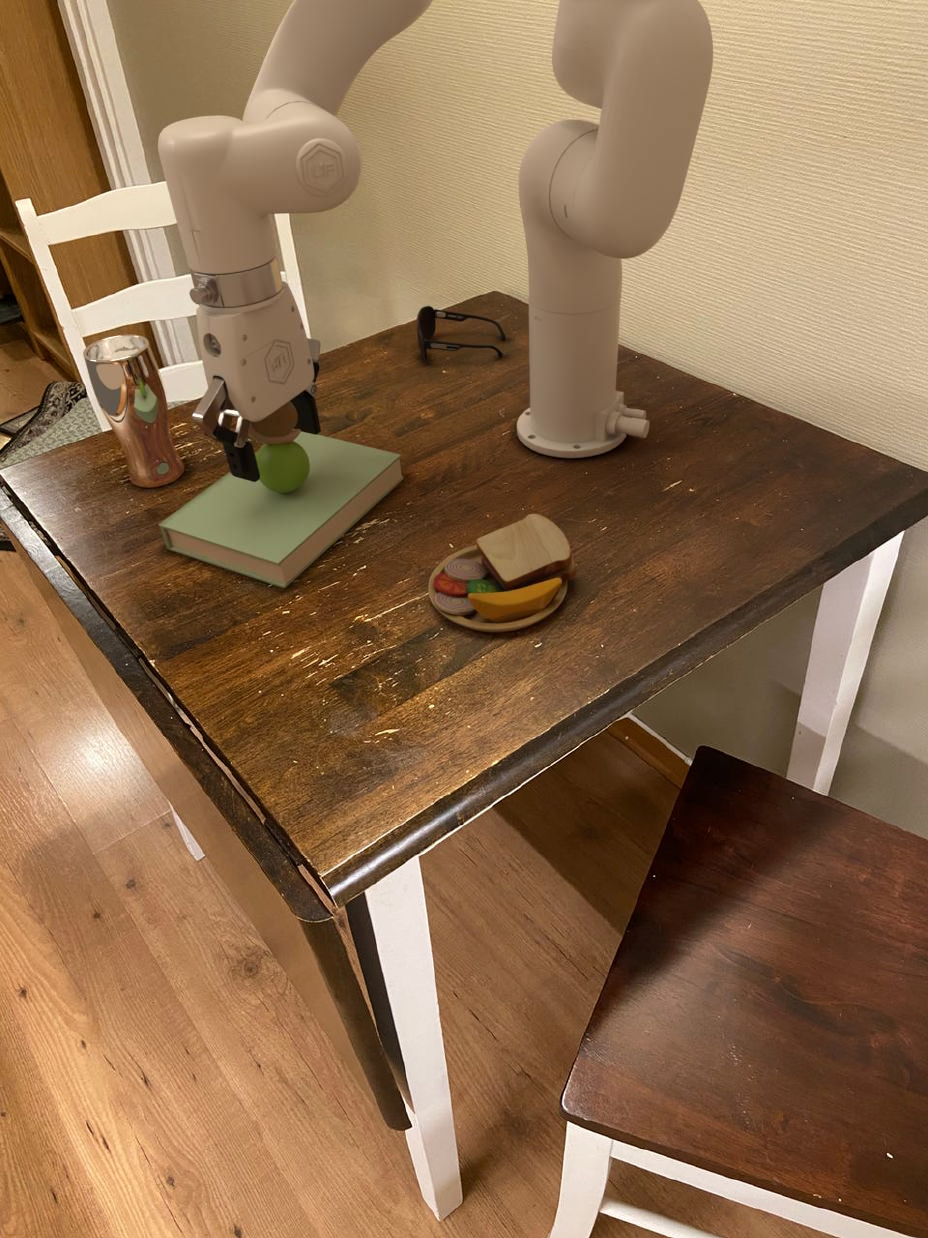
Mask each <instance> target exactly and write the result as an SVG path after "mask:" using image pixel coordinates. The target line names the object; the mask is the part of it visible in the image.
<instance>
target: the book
mask: <svg viewBox="0 0 928 1238" xmlns="http://www.w3.org/2000/svg"><path fill="white" fill-rule="evenodd" d="M293 430H294V429H293ZM293 441H295V442H296V443H298V444H299V445H300V446H301V447H302V448H303V449H304V450H305V452H306V453H307V455H308V458H309V462H310V471H309V475H308V477H307V479H306V481H305V483H304V484H303V485H302V486H301V487H300V488H298V489H297V490H295V491H292V492H289V493H278V492H274V491H271V490H269V489H268V488H266V487H265V486H264V485H263V484H262V483H261V482H260V480H258V481H256V482H252V481H249V480H245V479H241V478H238V477H234V476H233V475H232V474H231V471H229V472H228V473H227V474H225V475H224V476H222V477H221V478H220V479H218V480H217V481H216V482H214V483H213V484H211V485H210V486H209V487H207V488H206V489H205V490H203V491H202V492H201V493H199V494H197V496H194V498H193V499H191V500H190V501H188V502H187V503H185V504H184V505H183V506H181V507H180V508H179V509H178V510H176V511H175V512H174V513H172V514H171V515H169V516H168V517H166V519H164V520H162V521H161V522H160V523H158V527H159V529H160V531H161V535H162V538H163V541H164V544H165V547H166V549H167V550H169V551H171V552H175V553H177V554H181V555H183V556H186V557H190V558H193V559H195V560H198V561H202V562H204V563H207V564H210V565H213V566H217V567H219V568H222V569H225V570H228V571H231V572H234V573H236V574H240V575H243V576H246V577H249V578H252V579H254V580H258V581H261V582H263V583H267V584H269V585H272V586H276V587H278V588H281V589H286V588H287V587H288V586H289V585H290V584H291V583H293V582H294V580H296V579H297V578H298V577H299V576H300V575H301V574H303V573H304V571H305V570H306V569H307V568H309V567H310V566H311V565H312V564H313V563H314V562H315V561H317V559H318V558H319V557H321V556H322V555H323V554H324V553H325V552H326V551H327V550H328V549H329V548H331V546H332V545H334V544H335V543H336V542H337V541H338V540H339V539H340V538H341V537H342V536H344V535H345V533H346V532H348V531H349V530H350V529H351V528H352V527H353V526H354V525H356V523H358V522H359V521H360V520H361V519H362V518H363V517H364V516H365V515H366V514H367V513H368V512H370V511H371V509H373V508H374V507H375V506H376V505H377V504H379V502H380V501H381V500H383V498H384V497H386V496H387V495H388V494H390V492H391V491H392V490H394V488H395V487H397V486H398V485H399V484H400V483H401V482H402V481H403V480H404V478H405V477H404V476H403V474H402V467H401V458H402V454H401V453H396V452H391V451H387V450H383V449H380V448H375V447H371V446H366V445H362V444H359V443H354V442H350V441H346V440H343V439H342V440H341V439H339V438H338V439H337V438H334V437H329V436H325V435H321V434H317V435H314V434H310V433H306V432H300V434H299V435H298V436H297V438H296V439H295V440H293ZM257 452H258V451H256V452H254V453H255V457H256V454H257Z"/></svg>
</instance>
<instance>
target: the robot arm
mask: <svg viewBox="0 0 928 1238" xmlns="http://www.w3.org/2000/svg"><path fill="white" fill-rule="evenodd" d="M433 1H434V0H293V1H292V2H291V3H290V6H289V8H288V9H287V11H286V12H285V14H284V16H283V18H282V20H281V21H280V24H279V26H278V27H277V30H276V31H275V34H274V36H273V38H272V40H271V43H270V45H269V47H268V50H267V52H266V54H265V56H264V59H263V62H262V65H261V67H260V70H259V72H258V75H257V77H256V80H255V81H254V84H253V87H252V90H251V92H250V94H249V97H248V99H247V102H246V105H245V108H244V111H243V116H242V120H241V119H240V118H238V117H234V116H229V115H203V116H196V117H190V118H185V119H181V120H178V121H175V122H172V123H171V124H169V125H167V126H166V127H164V128H162V131H161V132H160V133H159V135H158V138H157V139H158V141H157V151H158V156H159V160H160V164H161V169H162V172H163V175H164V179H165V184H166V187H167V190H168V194H169V198H170V202H171V206H172V210H173V213H174V218H175V221H176V226H177V229H178V232H179V235H180V236H179V237H180V240H181V245H182V248H183V251H184V254H185V258H186V262H187V263H186V264H187V266H188V269H189V270H188V271H189V273H190V277H191V281H192V285H193V288H190V290H189V297H190V299H191V301H192V302H193V303H194V304H195V305H198V306H197V308H196V311H195V312H196V325H197V326H196V327H197V336H198V337H197V338H198V342H199V350H200V351H199V352H200V355H201V362H202V366H203V371H204V372H203V373H204V375H205V381H206V384H207V390H206V391H205V392H204V394H203V396H202V397H201V400H200V401H199V403H198V404H197V406H196V408H195V410H194V411H193V413H192V417H191V418H192V421H193V423H194V424H196V426H197V427H198V428H199V429H200V430H201V431H202V432H203V433H204V435H205V436H206V437H207V438H209V439H211V440H214V441H215V442H216V443H219V444H222V446H223V450H224V453H225V456H226V460H227V464H228V467H229V472H231V474H232V475H233V476H234V477H238V478H241V479H245V480H249V481H252V482H256V481H258V480H259V479H260V473H259V469H258V465H257V461H256V457H255V453H256V452H255V449H254V446H253V444H252V442H249V441H247V440H248V436H249V435H248V432H249V428H250V424H251V421H252V422H257V421H260V420H263V419H264V418H266V417H267V416H269V415H270V414H272V413H273V412H275V411H276V410H277V409H279V408H280V407H282V406H283V405H285V404H286V403H287V402H289V401H290V402H291V403H292V404H293V405H294V407H295V409H296V411H297V416H298V420H297V424H296V426H295V427H294V429H300V430H301V432H306V433H310V434H314V435H319V434H320V433H321V432H322V430H321V424H320V419H319V413H318V409H317V403H316V397H315V396H316V395H317V393H318V391H319V390H318V388H319V387H318V385H317V384H316V383H317V378H318V376H319V372H320V364H319V362H318V361H320V352H321V341H320V340H319V339H314V338H309V337H308V336H307V332H306V329H305V326H304V323H303V322H304V321H303V318H302V316H301V313H300V309H299V307H298V304H297V302H296V299H295V296H294V294H293V291H292V290H291V287H290V286H289V284H288V282H287V281H284V280H283V278H282V273H281V268H280V262H279V258H278V253H277V247H276V243H275V238H274V237H275V236H274V232H273V228H272V222H271V218H270V215H280V214H282V215H283V214H284V215H285V214H316V213H322V212H327V211H330V210H333V209H335V208H337V207H339V206H341V205H342V204H343V203H345V202H346V201H347V200H348V199H350V197H351V196H352V195H353V193H354V192H355V191H356V189H357V186H358V185H359V183H360V179H361V175H362V167H363V166H362V165H363V164H362V163H363V161H362V155H361V150H360V148H359V147H360V146H359V144H358V142H357V139H356V138H355V136H354V134H353V133H352V131H351V129H349V128H348V126H347V125H345V123H344V122H342V121H341V120H340V119H339V118H338V117H337V116H338V113H339V111H340V109H341V107H342V105H343V102H344V100H345V98H346V96H347V94H348V92H349V91H350V88H351V87H352V85H353V83H354V81H355V79H356V78H357V76H358V75H359V74H360V72H361V71H362V69H363V67H365V65H366V64H367V62H368V61H369V60H370V59H371V57H372V56H374V54H375V53H376V52H377V51H378V50H379V49H381V47H382V46H384V45H385V44H386V43H388V41H390V40H392V39H394V38H395V37H396V36H398V35H399V34H400V33H402V32H403V31H405V30H406V29H408V28H409V27H411V26H412V25H413V24H414V23H415V22H416V21H417V20H418V19H419V18H420V17H421V16H423V14H424V13H426V12H427V10H428V9H429V8H430V6H431V5H432V3H433ZM556 14H557V15H556V20H555V26H554V33H553V41H552V49H551V65H552V72H553V74H554V77H555V80H556V82H557V84H558V86H559V87H560V88H561V89H562V91H563V92H564V93H565V94H567V96H569V97H571V98H572V99H574V100H576V101H578V102H580V103H583V104H585V105H587V106H591V107H592V108H597V109H600V110H601V112H600V116H599V123H595V122H592V121H589V120H583V119H573V118H572V119H562V120H558V121H556V122H553V123H551V124H549V125H547V126H545V127H544V128H543V129H541V130H540V131H539V132H538V133H537V134H536V135H535V136H534V137H533V138H532V139H531V140H530V142H529V144H528V146H527V147H526V149H525V151H524V154H523V156H522V159H521V163H520V167H519V172H518V199H519V207H520V214H521V219H522V226H523V231H524V237H525V244H526V254H527V267H528V268H527V272H528V273H527V275H528V351H529V352H528V357H529V359H528V361H529V362H528V363H529V364H528V365H529V407H528V408H527V409H525V410H524V411H523V412H522V413H521V414H520V415H519V417H518V419H517V421H516V435H517V437H518V439H519V441H520V442H521V443H522V444H523V445H524V446H526V448H529V449H530V450H532V451H534V452H536V453H538V454H541V455H545V456H547V457H548V456H549V457H554V458H558V459H559V458H561V459H582V458H590V457H594V456H598V455H601V454H605V453H607V452H609V451H612V450H613V449H615V448H616V447H618V446H619V445H621V444H622V443H623V442H624V440H625V439H626V437H627V435H628V436H632V437H636V438H642V439H645V438H647V436H648V433H649V431H650V420H647V411H646V410H643V409H639V408H629V407H628V406H627V405H626V404H624V398H625V392H624V391H619V390H617V373H618V356H619V337H620V320H621V319H620V318H621V300H622V290H623V262H622V260H628V259H633V258H636V257H639V256H642V255H643V254H645V253H647V252H648V251H650V250H651V249H652V248H653V247H655V246H656V244H658V243H659V242H660V241H661V239H662V238H663V236H665V234H666V232H667V231H668V229H669V227H670V226H671V223H672V221H673V219H674V217H675V215H676V213H677V210H678V207H679V204H680V200H681V197H682V194H683V190H684V187H685V184H686V181H687V180H686V179H687V175H688V172H689V168H690V163H691V159H692V156H693V152H694V149H695V148H694V147H695V144H696V141H697V140H696V139H697V136H698V132H699V128H700V125H701V120H702V117H703V114H704V113H703V112H704V108H705V104H706V101H707V97H708V93H709V88H710V83H711V78H712V72H713V64H714V63H713V61H714V40H713V33H712V27H711V24H710V20H709V17H708V15H707V12H706V10H705V9H704V6H702V4H701V3H700V1H699V0H559V2H558V9H557V13H556ZM235 409H236V410H235ZM217 414H219V415H218V418H217ZM233 418H235V419H237V418H238V419H237V420H236V421H237V422H236V425H235V429H234V431H233V430H232V429H231V426H232V422H233Z"/></svg>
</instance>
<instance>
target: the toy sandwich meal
mask: <svg viewBox="0 0 928 1238" xmlns="http://www.w3.org/2000/svg"><path fill="white" fill-rule="evenodd" d="M570 545H571V544H570V542H569V540H568V538H567V537H566V535H565V533H564V532H563V531H562V529H560V527H559V526H558V525H556V523H554V522H553V521H552V520H550V519H549V518H548V517H546V516H543V515H541V514H539V513H529V514H527V515H526V516H525V517H524V518H523V519H521V520H518V521H516V522H513V523H512V524H509V525H506V526H504V527H502V528H499V529H496V530H494V531H492V532H489V533H487V534H485V535H483V536H480V537H478V538H476V540H475V544H474V545H471V546H468V547H465V548H462V549H459V550H458V551H456V552H454V553H452V554H450V555H449V556H447V557H446V558H444V559H443V560H442V561H441V562H440V563H439V564H438V565H437V566H436V567H435V568H434V569H433V571H432V573H431V575H430V576H429V580H428V584H427V592H428V596H429V599H430V602H431V603H432V605H433V607H434V608H435V609H436V610H437V611H438V612H439V613H440V614H441V615H442V616H444V617H445V618H446V619H448V620H449V621H451V622H453V623H455V624H457V625H460V626H462V627H465V628H467V629H471V630H473V631H478V632H483V633H485V632H486V633H505V632H507V633H508V632H513V631H517V630H521V629H524V628H527V627H530V626H532V625H534V624H536V623H538V622H540V621H542V620H543V619H545V618H547V617H549V616H550V615H551V614H552V613H553V612H554V611H555V610H556V609H558V607H559V606H560V605H561V604H562V603H563V601H564V599H565V597H566V594H567V591H568V581H571V580H573V579H575V577H576V575H577V567H576V562H575V561H576V560H575V558H574V556H573V553H572V552H571V551H572V550H571V546H570Z"/></svg>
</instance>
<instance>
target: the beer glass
mask: <svg viewBox="0 0 928 1238" xmlns="http://www.w3.org/2000/svg"><path fill="white" fill-rule="evenodd" d="M82 357H83V359H84V362H85V366H86V369H87V374H88V377H89V381H90V384H91V387H92V390H93V393H94V396H95V398H96V401H97V403H98V405H99V408H100V409H101V411H102V414H103V416H104V417H105V419H106V421H107V423H108V424H109V426H110V428H111V429H112V431H113V433H114V435H115V436H116V438H117V440H118V442H119V444H120V446H121V448H122V450H123V452H124V455H125V459H126V464H127V465H126V466H127V473H128V477H129V480H130V482H131V484H133V485H134V486H136V487H139V488H143V489H152V488H159V487H163V486H167V485H169V484H172V483H173V482H175V481H176V480H178V479H179V478H180V477H181V476H182V475H183V474H184V472H185V464H184V462H183V460H182V458H181V456H180V454H179V453H178V450H177V448H176V446H175V444H174V441H173V436H172V432H171V426H170V425H171V424H170V417H169V415H170V414H169V409H168V408H169V407H168V400H167V394H166V388H165V385H164V382H163V378H162V374H161V372H160V369H159V365H158V364H157V363H158V362H157V361H156V358H155V355H154V353H153V351H152V348H151V346H150V342H149V340H148V338H146V337H145V336H144V335H143V336H142V335H138V334H131V333H129V334H128V333H127V334H117V335H111V336H107V337H105V338H101V339H99V340H95V341H94V342H92V343H90V344H89V345H87V346H86V347H85V348H84V349H83V351H82Z"/></svg>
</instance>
